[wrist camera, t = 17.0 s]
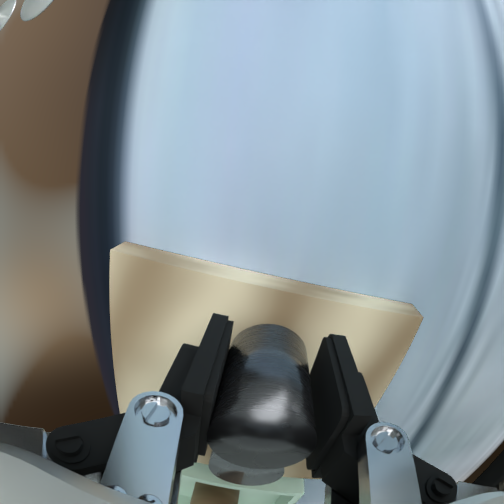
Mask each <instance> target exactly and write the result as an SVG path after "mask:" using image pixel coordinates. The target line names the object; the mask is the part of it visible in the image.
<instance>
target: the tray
mask: <svg viewBox="0 0 504 504" xmlns="http://www.w3.org/2000/svg"><path fill="white" fill-rule="evenodd" d="M195 482H200V483H205V484H209V485H214V486H219V487H224V488H229V489H235V490H240V492H239V499H238V504H295V503H296V502H297V501H298V500H299V499H300V498H301V497H302V496H303V495H304V478H291V477H281V478H280V479H279V480H277V481H275V482H273V483H270V484H266V485H258V486H246V485H238V484H234V483H230V482H227V481H224V480H222V479H220V478H218V477H217V476H215V475H214V474H213V473H212V472H211V471H210V469H209V466H208V465H207V464H202V463H198V462H197V463H194V465H193V466H191V467H188V468H186V469H183V470H182V475H181V482H180V489H179V497H178V504H190V501H191V497H192V494H193V490H194V486H195Z"/></svg>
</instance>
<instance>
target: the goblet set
mask: <svg viewBox="0 0 504 504" xmlns="http://www.w3.org/2000/svg"><path fill="white" fill-rule="evenodd" d="M53 1H54V0H25V1H24V3H23V6H22V8H21V15H20V16H21V19H22V20H23V21H29V20H32V19H34V18H35V17H37V16H38V15H40V14H41V13H42V12H43V11H44V10H45V9H46V8H47V7H48V6H49V5H50V4H51V3H52V2H53ZM15 6H16V0H7V1H6V2H5V3H4V4H3V5H2V6H1V7H0V31H1V29H2V28H3V27H4V26H5V24H6V23H7V21H8V20H9V18H10V16H11V15H12V13H13V11H14V8H15Z"/></svg>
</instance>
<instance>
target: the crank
mask: <svg viewBox="0 0 504 504" xmlns="http://www.w3.org/2000/svg"><path fill="white" fill-rule="evenodd" d="M207 442H208V445H209V446H210V448H211V449H212V452H211V456H210V460H209V465H208V466H209V469H210V471H211V472H212V473H213V474H214V475H215V476H217V477H218V478H220V479H222V480H224V481H227V482H230V483H234V484H238V485H246V486H258V485H266V484H270V483H273V482H275V481H277V480H279V479H280V478H281V477H282V476H283V475H284V467H287V466H291V465H294V464H296V463H298V462H300V461H302V460H304V459H305V458H307V457H308V456H309V455H310V454H311V453H312V452H313V450H314V449H315V446H316V442H317V439H316V429H315V419H314V409H313V400H312V391H311V382H310V374H309V366H308V358H307V351H306V347H305V344H304V342H303V340H302V339H301V338H300V337H299V336H298V335H297V334H296V333H295V332H294V331H292V330H290V329H289V328H286V327H284V326H280V325H276V324H259V325H254V326H251V327H249V328H246V329H245V330H243V331H241V332H240V333H239V334H238V335H237V336H236V337H235V338H234V339H233V341H232V343H231V345H230V349H229V352H228V356H227V360H226V364H225V367H224V371H223V375H222V379H221V383H220V387H219V390H218V394H217V398H216V402H215V406H214V410H213V413H212V417H211V421H210V425H209V429H208V432H207Z"/></svg>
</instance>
